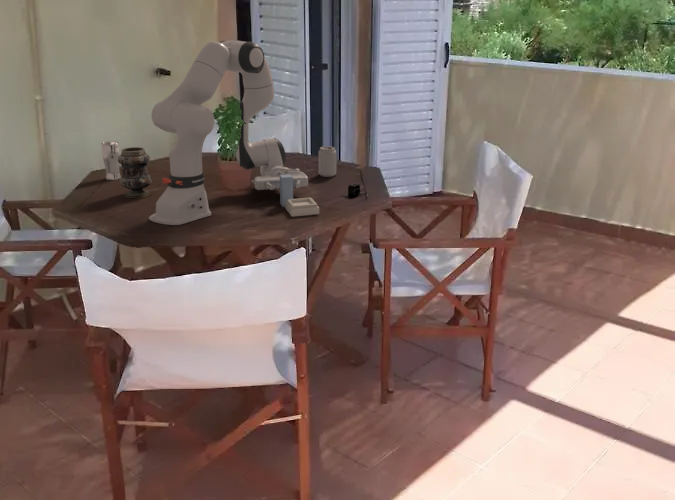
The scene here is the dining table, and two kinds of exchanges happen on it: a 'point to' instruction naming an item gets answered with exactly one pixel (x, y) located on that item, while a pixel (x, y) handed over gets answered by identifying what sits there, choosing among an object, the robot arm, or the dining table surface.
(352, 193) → the black box
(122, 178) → the apothecary jar
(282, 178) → the pillar
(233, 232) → the dining table surface
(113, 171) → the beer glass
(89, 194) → the dining table surface
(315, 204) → the footing
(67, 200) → the dining table surface
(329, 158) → the can
